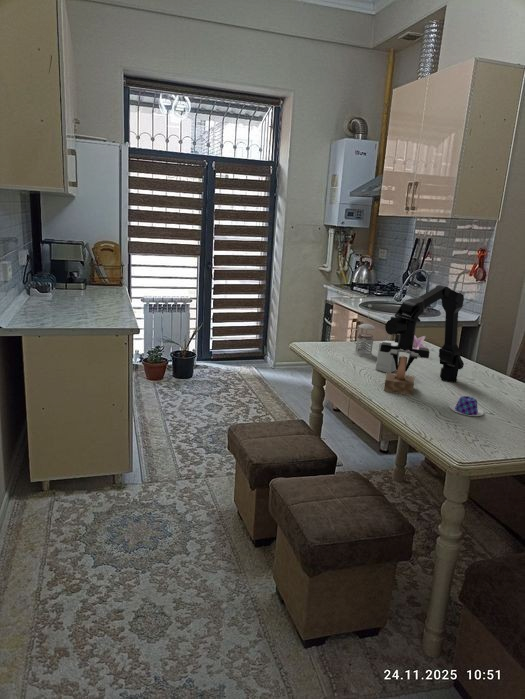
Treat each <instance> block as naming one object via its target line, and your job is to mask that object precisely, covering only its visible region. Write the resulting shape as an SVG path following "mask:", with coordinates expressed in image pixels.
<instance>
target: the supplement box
mask: <svg viewBox="0 0 525 699" xmlns="http://www.w3.org/2000/svg"><path fill="white" fill-rule="evenodd" d="M382 342H387V343H391V346H398V343H396V342H395V341H390V340H384V341H381V342H379V344H378V351H377V358H376V364H375V370H377V371H380V372H384V373H386V374H387V373H393V372H395V371H396V372H397V370H396V366H395V361H394V358H393V355H390V353H391V350H390V351H389V352H381V351H380V348H381V343H382ZM399 356H400V352H399V351H398V359H399Z"/></svg>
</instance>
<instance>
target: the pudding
mask: <svg viewBox="0 0 525 699" xmlns="http://www.w3.org/2000/svg"><path fill="white" fill-rule="evenodd" d="M449 408H450V409H451V410H452V411H453V412H455V413H458V414H461V415H465V416H469V417H479V416H480V417H481V416H483V415H484V411H483V410H482V409H481V408H478V400H477V399H476V398H475V397H471V396H468V395H462V396H460V397H459V398H458V401H457V403H452V404H450V405H449Z"/></svg>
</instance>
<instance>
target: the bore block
mask: <svg viewBox="0 0 525 699" xmlns="http://www.w3.org/2000/svg"><path fill="white" fill-rule="evenodd" d="M396 375H397V373H393V372H391V373H387V372H386V374H385V381H384V386H383V387H384V388H383V391H384V392H390V393H394V394H396V393H397V394H402V395H407V396H413V395H414V394H413V393H414V392H413V391H414V388H415V377H414V376H412V375H411V376H410V375H406V374H405V377H404V380H399V379H396Z"/></svg>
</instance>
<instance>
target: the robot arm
mask: <svg viewBox="0 0 525 699" xmlns="http://www.w3.org/2000/svg"><path fill="white" fill-rule="evenodd" d="M464 297H465V296H464V294H463V293H461V292H457V291H455V290H454V289H451V288H450V287H448V286H446V285H441V284H438V285H436V286H435V287H434V288H432V289H431V290H428V291H427V292H426V293H424V294H422V295H420V296H419V297H413V298H408V299H405V300H404V301H403V302H402V303H401V305H400V306H399V308H398V310H397V311H396V313H395V314H394V316H391V317H390V319H389V320H387V322H386V323H385V326H384V329H385V332H386V333H387V334H388V335H389V336H394V335H395V336H394V337H395V338H394V342H395V343H398V346H391V343H387V342H384V341H381V342H382V343H381V342H380V343H381V348H380V351H381V352H389V351H390V350H391V353H390V355H393V358H394V361H395V366H396V371H397V369H398V362H399V358H398V351H399V353H400V352H401V353H405V352H406V353H405V354H407V353H408V354H409V356H408V359H407V365H406V371H405V373H406V372H408V369H409V368H410V366H411V365H412V363H413V361H414V360H417V359H418V358H419V357H420V358H421V359H422V358H423V359H429V358H430V354H431V353H430V349H429V348H427V347H425V348H422V347H419V349H412V348H413V342H414V336H416V335H415V334H416V329H417V324H418V323H419V322H421V319H420V318H419V316H421V315H422V314H423V313H424V312H425V309H426V308H427V307H429V306H430V305H433V304H434V303H436V302H438V301H439V300H441V307H442V308H443V311H444V312H445V316H444V317H445V320H444V341H443V342H444V344H443V345H442V347H441V348H438V349H439V350H438V358H439V364H440V365H442V367H441V368H440V372H439V373H440V374H439V378H440V380H441V381H444V382H450V383H458V373H459V370H462V369H463V368H464V365H465V363H464V361H463V360H462V357H461V350H460V348H459V346H458V343H457V342H458V327H459V326H458V325H459V324H458V323H459V312H460V311H461V310H462V309H463V305H464V300H465V298H464ZM408 350H410V351H408ZM418 356H419V357H418Z"/></svg>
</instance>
